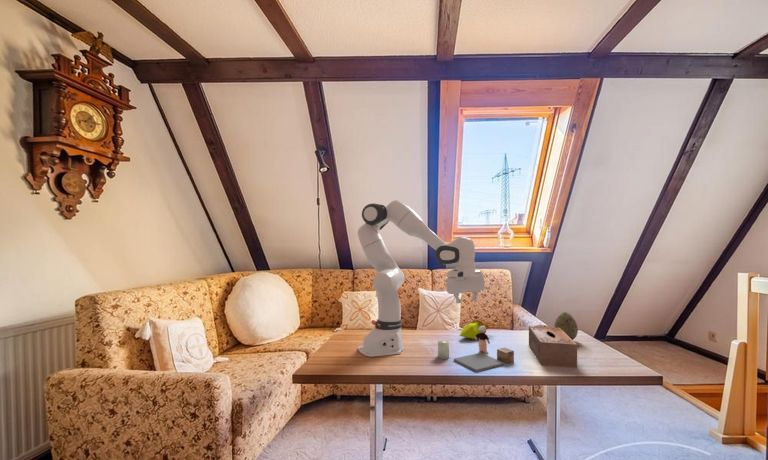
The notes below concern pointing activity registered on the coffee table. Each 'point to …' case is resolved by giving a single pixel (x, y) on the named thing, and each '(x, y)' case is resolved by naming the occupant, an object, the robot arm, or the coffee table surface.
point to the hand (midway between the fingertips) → (466, 301)
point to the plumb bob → (473, 329)
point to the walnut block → (505, 355)
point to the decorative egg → (567, 324)
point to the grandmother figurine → (482, 340)
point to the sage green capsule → (443, 349)
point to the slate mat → (478, 362)
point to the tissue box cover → (552, 346)
